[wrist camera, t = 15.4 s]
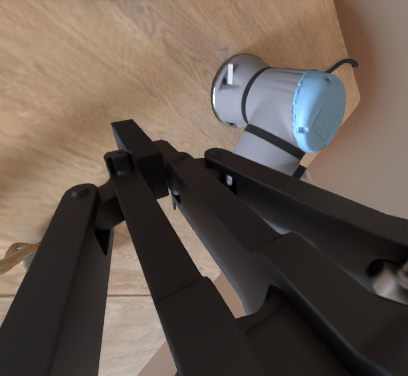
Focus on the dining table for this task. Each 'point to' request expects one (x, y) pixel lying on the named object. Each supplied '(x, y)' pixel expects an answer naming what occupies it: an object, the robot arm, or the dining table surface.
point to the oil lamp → (18, 256)
